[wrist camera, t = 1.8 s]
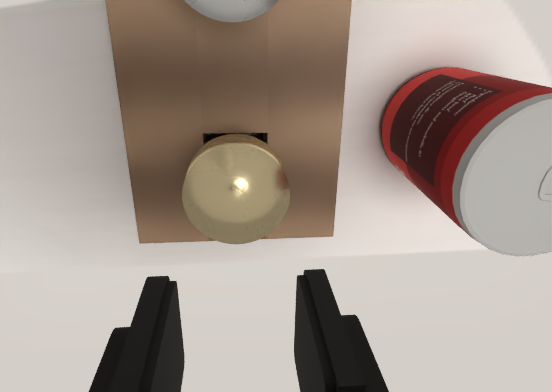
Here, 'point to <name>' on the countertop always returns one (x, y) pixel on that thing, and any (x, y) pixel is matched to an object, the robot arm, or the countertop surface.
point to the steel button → (232, 9)
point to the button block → (230, 102)
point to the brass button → (236, 189)
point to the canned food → (478, 154)
